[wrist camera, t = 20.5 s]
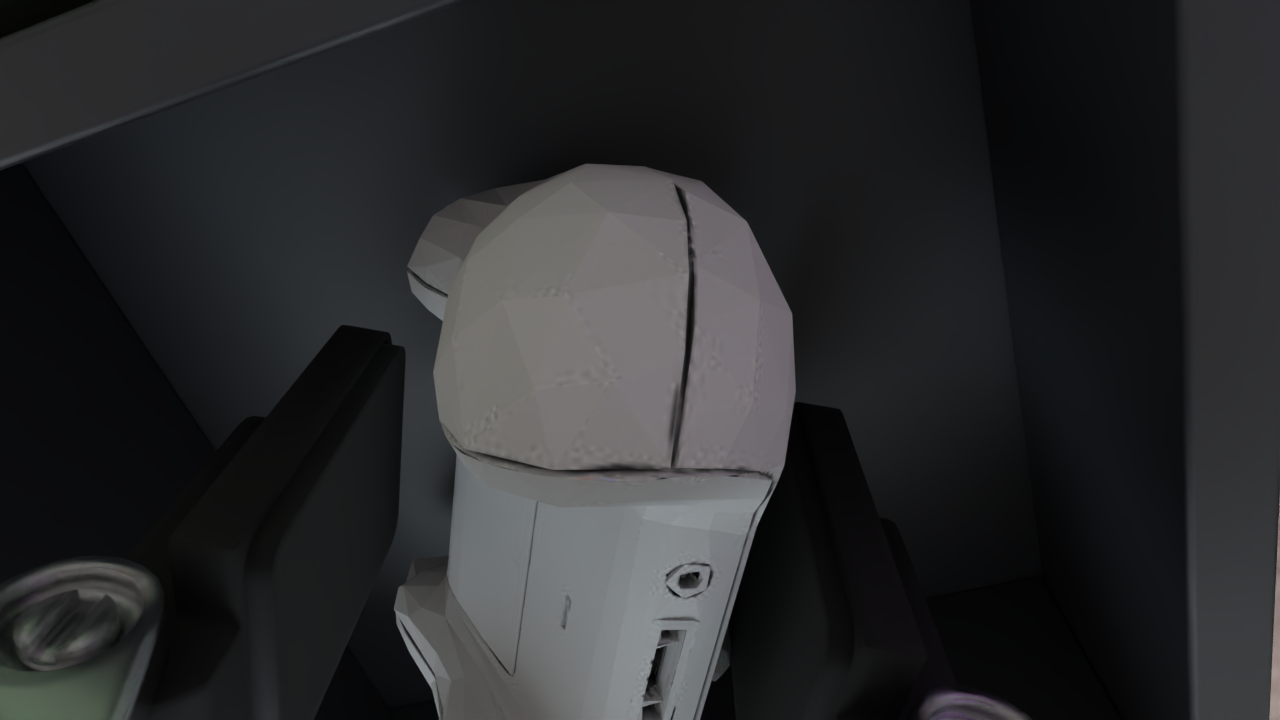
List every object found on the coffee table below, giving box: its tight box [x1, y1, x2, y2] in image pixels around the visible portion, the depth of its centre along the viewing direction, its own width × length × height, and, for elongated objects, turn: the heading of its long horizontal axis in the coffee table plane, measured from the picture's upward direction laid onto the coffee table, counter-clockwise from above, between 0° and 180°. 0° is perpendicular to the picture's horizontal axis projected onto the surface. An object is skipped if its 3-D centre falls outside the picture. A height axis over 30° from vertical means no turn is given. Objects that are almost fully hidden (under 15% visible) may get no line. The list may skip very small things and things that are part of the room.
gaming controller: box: [394, 164, 796, 720], centre depth 9 cm, size 10×4×7 cm, turn 171°
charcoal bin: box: [0, 0, 1280, 720], centre depth 11 cm, size 14×13×5 cm
